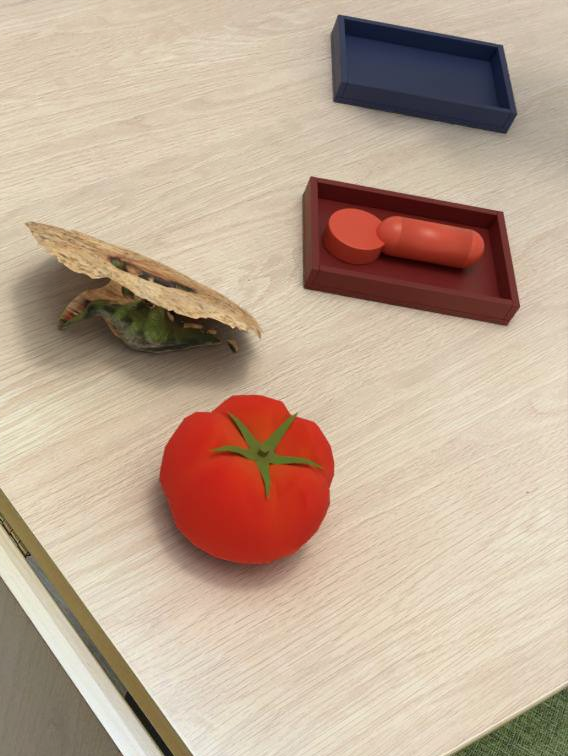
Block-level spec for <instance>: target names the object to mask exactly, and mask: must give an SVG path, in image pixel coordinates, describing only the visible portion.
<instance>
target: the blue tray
mask: <svg viewBox="0 0 568 756" xmlns="http://www.w3.org/2000/svg"><path fill="white" fill-rule="evenodd" d="M330 45H331V48H330V49H331V71H332V95H333V102H334V103H335V102H336V103H339V104H340V103H341V104H347V105H352V106H357V107H362V108H368V109H374V110H378V111H383V112H384V111H385V112H389V113H394V114H402V115H404V116H411V117H416V118H422V119H427V120H433V121H437V122H442V123H443V122H444V123H448V124H454V125H459V126H460V125H461V126H463V127H470V128H475V129H480V130H487V131H492V132H495V133H496V132H497V133H502V134H507V133H508V131H509V130H510V128H511V127H512V125H513V123H514V122H515V119H516V118H517V116H518V110H517V105H516V99H515V95H514V90H513V86H512V82H511V77H510V73H509V72H510V71H509V67H508V63H507V57H506V52H505V48H504V45H503V44H499V43H495V42H491V41H490V42H489V41H484V40H479V39H474V38H468V37H462V36H457V35H453V34H447V33H441V32H436V31H430V30H426V29H419V28H414V27H410V26H409V27H408V26H404V25H398V24H394V23H386V22H383V21H377V20H372V19H366V18H361V17H356V16H351V15H345V14H339V13H338V14H337V16H336V19H335V22H334V25H333V27H332V29H331V32H330Z"/></svg>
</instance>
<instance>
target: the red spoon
mask: <svg viewBox="0 0 568 756" xmlns="http://www.w3.org/2000/svg"><path fill="white" fill-rule="evenodd" d="M322 241H323V244H324V246H325V248H326V249H327V251H328V252H329V253H330V254H332V255H333V256H334V257H336V258H337V259H339V260H341V261H344V262H346V263H350V264H356V265H363V264H368V263H371V262H373V261H375V260H376V259H377V258H378V257H379V255H380V253H381V252H382V253H383V254H386V255H389V256H394V257H400V258H405V259H411V260H416V261H422V262H427V263H432V264H438V265H443V266H449V267H454V268H468V267H471V266H472V265H474V264H476V263H477V262H478V261H479V260H480V258H481V257H482V255H483V252H484V241H483V239H482V237H481V235H480V234H478V233H477V232H476V231H474V230H471V229H465V228H460V227H455V226H449V225H444V224H438V223H433V222H428V221H422V220H417V219H411V218H406V217H401V216H393V217H389V218H387V219H385V220H383V221H382V222H381V221H380V220H379V219H378V218H377V217H375V216H374V215H372V214H370V213H368V212H366V211H363V210H359V209H351V208H349V209H342V210H339V211H336V212H335V213H334V214H332V215H331V217H330V219H329V221H328V223H327V225H326V227H325V230H324V232H323V235H322Z"/></svg>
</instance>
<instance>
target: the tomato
mask: <svg viewBox="0 0 568 756" xmlns="http://www.w3.org/2000/svg"><path fill="white" fill-rule="evenodd" d="M298 414H299V411H298V412H296V413H293V414H291V413H290V411H289V410H288V408H287V406H286V405H285V404H284V402H283V401H282V400H279V399H275V398H272V397H269V396H265V395H262V394H235V395H231V396H229V397H228V398H226V399H225V400H224V401H222V402H221V403H220V404H219V405H218V406H216V407H215V408H213V410H212V411H194V412H193V413H191V414H189V415H188V416H185V417H184V418H183V419H182V421H181V422H180V424H179V425H178V427H177V428H176V429H175V430H174V432H173V433H172V435H171V436H170V438H169V439H168V441H167V442H166V444H165V445H164V449H163V454H162V459H161V464H160V469H159V477H158V481H159V485H160V486H161V489H162V491H163V493H164V495H165V497H166V500H167V503H168V506H169V509H170V512H171V515H172V518H173V521H174V524H175V527H176V529H177V530H178V531H179V532H180V533H181V534H182V535H183V536H184V537H185V538H186V539H187V540H188V541H189V542H190V543H191V545H193V546H194V547H195V548H198V549H200V550H201V551H203V552H205V553H206V554H208V555H210V556H212V557H213V558H216V559H220V560H225V561H228V562H232V563H237V564H253V565H254V564H255V565H257V564H258V565H259V564H260V565H263V564H267V563H272V562H275V561H277V560H280V559H283V558H286V557H289V556H291V555H294V554H295V553H296V552H298V551H299V550H300V549H301V548H302V547H303V546H304V545H305V544H306V543H307V542H308V541H309V540H311V538H312V537H313V536H315V535H316V534H317V532H318V531H319V529H320V527H321V525H322V524H323V521H324V520H325V518H326V516H327V513H328V510H329V508H330V506H331V490H330V488H331V485H332V483H333V479H334V476H335V458H334V454H333V449H332V445H331V444H330V442H329V440H328V439H327V438H326V436H325V434H324V432H323V430H322V429H321V428H320V426H319V425H318V424H317V423H316V422H315V421H313V420H310V419H307V418H304V417H300V416H298Z"/></svg>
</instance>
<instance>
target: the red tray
mask: <svg viewBox="0 0 568 756" xmlns="http://www.w3.org/2000/svg"><path fill="white" fill-rule="evenodd" d="M349 208H351V209H359V210H363V211H366V212H368V213H370V214H372V215H374V216H375V217H377V218H378V219H379V220H380V221H381V222H382V221H383V220H385V219H387V218H389V217H393V216H401V217H406V218H411V219H417V220H422V221H428V222H433V223H438V224H444V225H449V226H455V227H460V228H465V229H471V230H474V231H476V232H477V233H478V234H480V235H481V237H482V239H483V241H484V252H483V255H482V257H481V258H480V260H479V261H478V262H477V263H476V264H474V265H472V266H471V267H468V268H454V267H449V266H443V265H438V264H432V263H427V262H422V261H416V260H411V259H405V258H400V257H394V256H389V255H386V254H383V253H382V252H381V253H380V255H379V257H378V258H377V259H376V260H375V261H373V262H371V263H368V264H363V265H356V264H350V263H346V262H344V261H341V260H339V259H337V258H336V257H334V256H333V255H332V254H330V253H329V252H328V251H327V249H326V248H325V246H324V244H323V241H322V235H323V232H324V230H325V227H326V225H327V223H328V221H329V219H330V217H331V215H332V214H334V213H335V212H336V211H339V210H342V209H349ZM509 241H510V240H509V236H508V231H507V224H506V217H505V213H504V211H502V210H496V209H492V208H485V207H481V206H480V207H479V206H475V205H468V204H463V203H458V202H453V201H447V200H443V199H437V198H431V197H426V196H421V195H415V194H410V193H404V192H399V191H394V190H388V189H383V188H377V187H373V186H372V187H371V186H367V185H362V184H356V183H350V182H344V181H340V180H333V179H329V178H323V177H317V176H313V175H311V176H310V177H309V179H308V181H307V183H306V186H305V188H304V191H303V193H302V266H303V267H302V276H303V277H302V279H303V281H302V283H303V284H302V285H303V286H302V287H303V289H308V290H313V291H319V292H325V293H330V294H335V295H340V296H346V297H352V298H356V299H362V300H367V301H373V302H379V303H384V304H389V305H393V306H394V305H395V306H400V307H405V308H410V309H416V310H421V311H426V312H433V313H438V314H442V315H443V314H444V315H449V316H456V317H459V318H465V319H471V320H475V321H476V320H477V321H482V322H487V323H494V324H499V325H502V326H503V325H504V326H508V325H509V324H510V322H511V321H512V319H513V318H514V316H515V315H516V314H517V313H518V311H519V309H520V308H521V302H520V297H519V292H518V286H517V280H516V273H515V270H514V264H513V258H512V257H513V256H512V252H511V247H510V242H509Z"/></svg>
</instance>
